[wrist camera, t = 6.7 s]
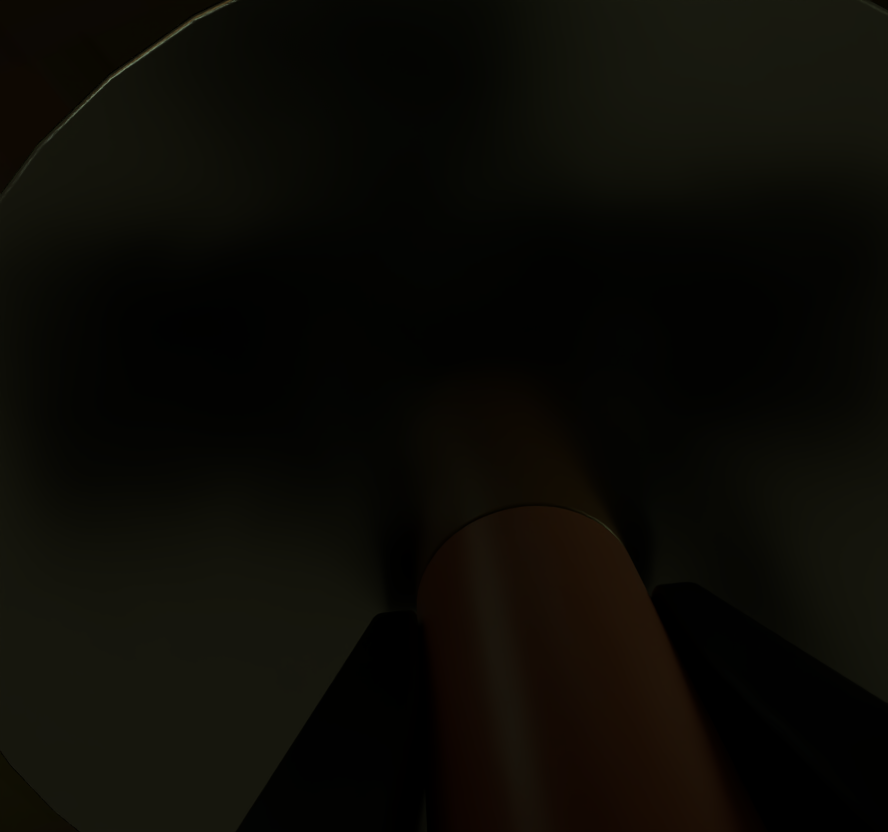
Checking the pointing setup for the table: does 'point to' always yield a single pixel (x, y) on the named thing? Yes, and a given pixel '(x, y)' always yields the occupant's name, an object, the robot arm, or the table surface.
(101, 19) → the table surface
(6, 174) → the table surface
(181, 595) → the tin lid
